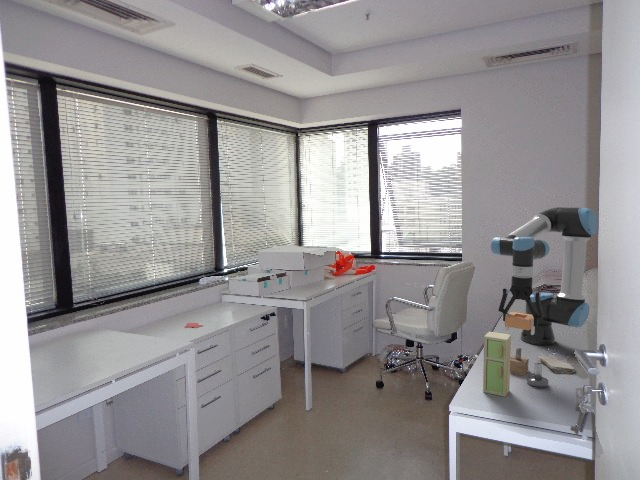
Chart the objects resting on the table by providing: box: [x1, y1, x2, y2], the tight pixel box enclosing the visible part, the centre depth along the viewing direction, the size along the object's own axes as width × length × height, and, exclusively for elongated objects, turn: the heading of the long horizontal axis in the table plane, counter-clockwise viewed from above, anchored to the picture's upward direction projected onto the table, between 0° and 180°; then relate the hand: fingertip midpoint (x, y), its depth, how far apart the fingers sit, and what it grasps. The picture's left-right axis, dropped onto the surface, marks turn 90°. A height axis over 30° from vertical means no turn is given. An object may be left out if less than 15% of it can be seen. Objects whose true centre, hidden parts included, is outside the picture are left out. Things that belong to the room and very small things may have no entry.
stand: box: [510, 346, 530, 376], centre depth 186 cm, size 6×6×10 cm
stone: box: [538, 355, 576, 375], centre depth 191 cm, size 15×11×3 cm
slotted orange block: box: [504, 311, 533, 330], centre depth 184 cm, size 9×9×4 cm
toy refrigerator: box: [482, 331, 512, 398], centre depth 166 cm, size 8×7×21 cm
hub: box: [526, 362, 549, 390], centre depth 173 cm, size 7×7×8 cm
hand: (519, 331), depth 185 cm, fingers closed on slotted orange block, 9 cm apart
